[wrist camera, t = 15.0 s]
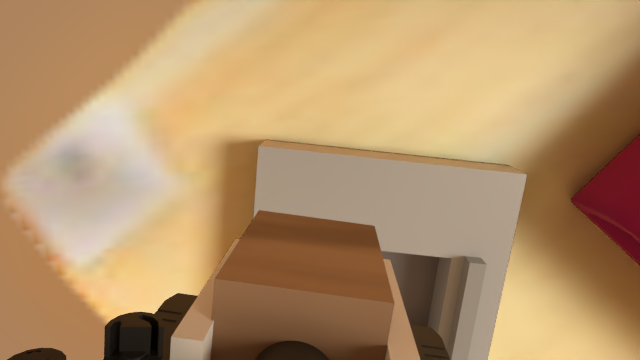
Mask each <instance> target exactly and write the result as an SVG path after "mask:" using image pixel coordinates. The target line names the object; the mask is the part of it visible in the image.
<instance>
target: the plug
mask: <svg viewBox="0 0 640 360" xmlns="http://www.w3.org/2000/svg"><path fill="white" fill-rule="evenodd" d="M394 304H395V303H394V299H393V295H392V291H391V288H390V284H389V280H388V276H387V272H386V268H385V264H384V260H383V256H382V253H381V249H380V245H379V241H378V237H377V233H376V229H375V226H373V225H366V224H358V223H351V222H343V221H336V220H329V219H321V218H314V217H307V216H299V215H292V214H284V213H277V212H270V211H262V210H259V211H258V212H257V214H256V215H255V217H254V219H253V220H252V222H251V223H250V225H249V226H248V228H247V229H246V231H245V232H244V234H243V235H242V237H241V239H240V240H239V242H238V243H237V245H236V246H235V248H234V249H233V251H232V252H231V254H230V256H229V257H228V259H227V260H226V262H225V263H224V265H223V266H222V268H221V269H220V271H219V272H218V274H217V276H216V277H215V279H214V292H213V304H212V317H211V320H214V324H213V336H212V348H211V360H384V359H385V353H386V348H387V342H388V337H389V331H390V326H391V320H392V315H393V309H394Z"/></svg>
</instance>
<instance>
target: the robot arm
mask: <svg viewBox="0 0 640 360" xmlns="http://www.w3.org/2000/svg"><path fill="white" fill-rule="evenodd" d="M239 240H240V239H235V241H234V242H233V244H232V245H231V247H230V248H229V250H228V251H227V253H226V254H225V256H224V257H223V259H222V260H221V262H220V263H219V265H218V266H217V268H216V270H215V271H214V273H213V274H212V276H211V277H210V279H209V280H208V282H207V283H206V285H205V286H204V288H203V289H202V291H201V292H200V294H199V295H198V296H194V295H187V294H180V293H178V294H176V295H174V296H172V297H170V298H169V299H167V300H165V301H164V303H163V304H162V305H161V306H160V308H159V309H158V311H156V313H155V314H152V313H146V312H134V313H128V314H124V315H120V316H118V317H116V318H114V319H112V320H111V321H110V322H109V323H108V324H107V325H106V326H105V347H104V359H103V360H211V348H212V336H213V324H214V320H211V317H212V304H213V292H214V279H215V277H216V276H217V274H218V272H219V271H220V269H221V268H222V266H223V265H224V263H225V262H226V260H227V259H228V257H229V256H230V254H231V252H232V251H233V249H234V248H235V246H236V245H237V243H238V242H239ZM383 260H384V264H385V268H386V272H387V276H388V280H389V284H390V288H391V291H392V295H393V299H394V303H395V304H394V309H393V315H392V320H391V326H390V331H389V337H388V342H387V348H386V353H385V359H384V360H450V357H449V355H448V352H447V350H446V347H445V345H444V342H443V340H442V338H441V336H440V335H439V334H438V333H437V332H436V331H435V330H434V329H433V328H432V327H427V326H420V325H413V324H409V320H408V317H407V314H406V310H405V307H404V304H403V300H402V297H401V294H400V290H399V287H398V284H397V281H396V277H395V274H394V271H393V267H392V264H391V261H390V260H388V259H383ZM8 360H66V355H65V354H64V353H63V352H61V351H59V350H56V349H53V348H37V349H31V350H27V351H24V352H22V353H19V354H16V355H14V356H12V357H11V358H9V359H8Z"/></svg>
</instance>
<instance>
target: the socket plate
mask: <svg viewBox="0 0 640 360" xmlns="http://www.w3.org/2000/svg"><path fill="white" fill-rule="evenodd" d="M526 178H527V174H525V173H523V172H521V171H519V170H517V169H515V168H512V167H510V166H508V165H502V164H492V163H483V162H473V161H464V160H454V159H445V158H435V157H426V156H417V155H407V154H398V153H388V152H379V151H369V150H360V149H350V148H341V147H332V146H322V145H313V144H303V143H294V142H284V141H275V140H265V141H264V142H263V143H262V144H260V145H259V146H258V159H257V174H256V188H255V203H254V217H255V215H256V214H257V212H258V211H259V210H262V211H270V212H277V213H284V214H292V215H299V216H307V217H314V218H321V219H329V220H336V221H343V222H351V223H358V224H366V225H373V226H375V229H376V233H377V237H378V241H379V245H380V249H381V253H382V256H383V259H388V260H390V261H391V264H392V267H393V271H394V274H395V277H396V281H397V284H398V287H399V290H400V294H401V297H402V300H403V304H404V307H405V310H406V314H407V317H408V320H409V324H413V325H420V326H427V327H432V328H433V329H434V330H435V331H436V332H437V333H438V334H439V335H440V336H441V338H442V340H443V342H444V345H445V347H446V350H447V352H448V355H449V357H450V360H488V355H489V351H490V346H491V341H492V337H493V332H494V327H495V323H496V318H497V313H498V309H499V304H500V299H501V295H502V290H503V285H504V281H505V276H506V271H507V267H508V262H509V257H510V253H511V248H512V243H513V239H514V234H515V229H516V225H517V220H518V215H519V211H520V206H521V201H522V197H523V192H524V187H525V183H526ZM254 217H253V219H254Z"/></svg>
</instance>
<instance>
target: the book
mask: <svg viewBox="0 0 640 360" xmlns="http://www.w3.org/2000/svg"><path fill="white" fill-rule="evenodd" d="M571 201H572V203H573V204H574V205H575V206H576V207H577V208H579V209H580V210H581V211H582V212H583V213H584V214H585V215H586V216H587V217H588V218H589V219H590V220H591V221H593V222H594V223H595V224H596V225H597V226H598V227H599V228H600V229H601V230H602V231H603V232H604V233H606V234H607V235H608V236H609V237H610V238H611V239H612V240H613V241H614V242H615V243H616V244H617V245H619V246H620V247H621V248H622V249H623V250H624V251H625V252H626V253H627V254H628V255H629V256H630V257H631V258H633V259H634V260H635V261H636V262H637V263H638V264H639V265H640V134H639V135H638V136H637V137H636V138H635V139H634V140H633V141H632V142H631V143H630V144H629V145H628V146H627V147H626V148H625V149H624V150H622V151H621V152H620V153H619V154H618V155H617V156H616V157H615V158H614V159H613V160H612V161H611V162H610V163H609V164H608V165H607V166H606V167H605V168H603V169H602V170H601V171H600V172H599V173H598V174H597V175H596V176H595V177H594V178H593V179H592V180H591V181H590V182H589V183H588V184H587V185H586V186H584V187H583V188H582V189H581V190H580V191H579V192H578V193H577V194H576V195H575V196H574V197H573V198H572V199H571Z"/></svg>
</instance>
